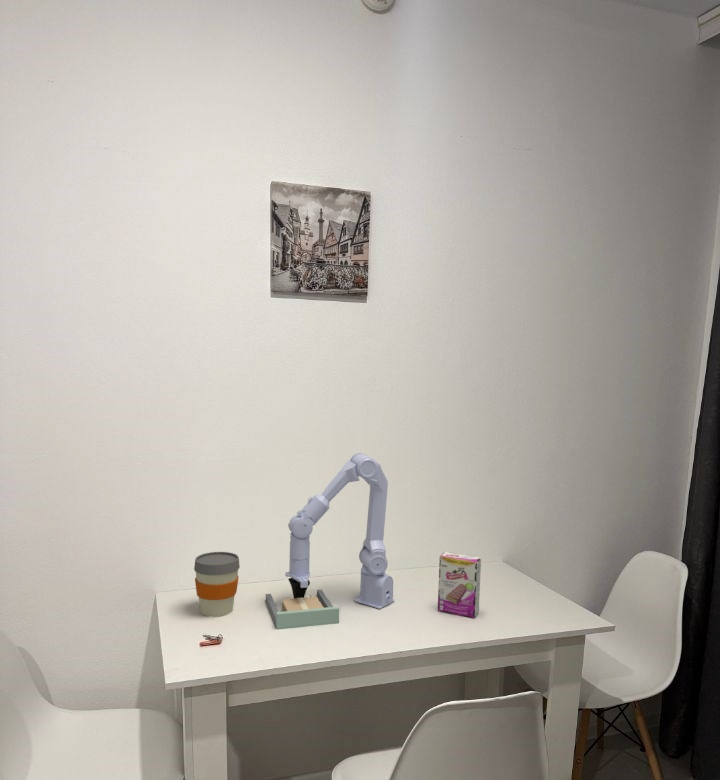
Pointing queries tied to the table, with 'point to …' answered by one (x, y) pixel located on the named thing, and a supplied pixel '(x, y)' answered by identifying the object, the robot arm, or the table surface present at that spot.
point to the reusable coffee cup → (216, 582)
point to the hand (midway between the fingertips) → (298, 603)
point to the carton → (300, 604)
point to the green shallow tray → (304, 614)
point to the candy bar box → (459, 584)
